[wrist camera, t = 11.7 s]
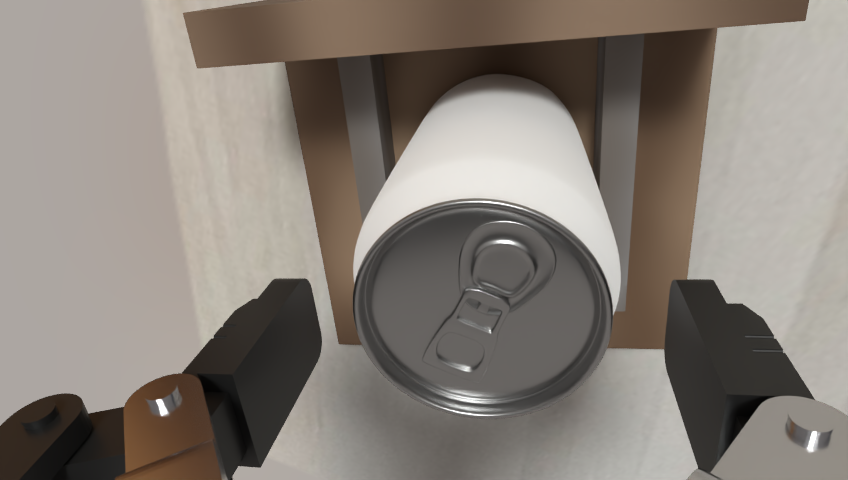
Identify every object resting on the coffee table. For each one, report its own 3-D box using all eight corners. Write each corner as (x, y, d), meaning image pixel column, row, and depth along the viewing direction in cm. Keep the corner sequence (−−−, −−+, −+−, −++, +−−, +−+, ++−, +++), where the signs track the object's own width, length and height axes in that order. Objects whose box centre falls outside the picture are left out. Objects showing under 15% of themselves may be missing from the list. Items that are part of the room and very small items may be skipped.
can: (610, 110, 21) (700, 256, 11) (535, 248, 24) (548, 469, 14) (452, 43, 21) (386, 127, 11) (396, 191, 24) (301, 371, 14)
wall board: (712, -46, 20) (817, -49, 13) (670, 329, 27) (724, 462, 20) (287, -3, 23) (182, 13, 16) (347, 327, 30) (293, 442, 23)
